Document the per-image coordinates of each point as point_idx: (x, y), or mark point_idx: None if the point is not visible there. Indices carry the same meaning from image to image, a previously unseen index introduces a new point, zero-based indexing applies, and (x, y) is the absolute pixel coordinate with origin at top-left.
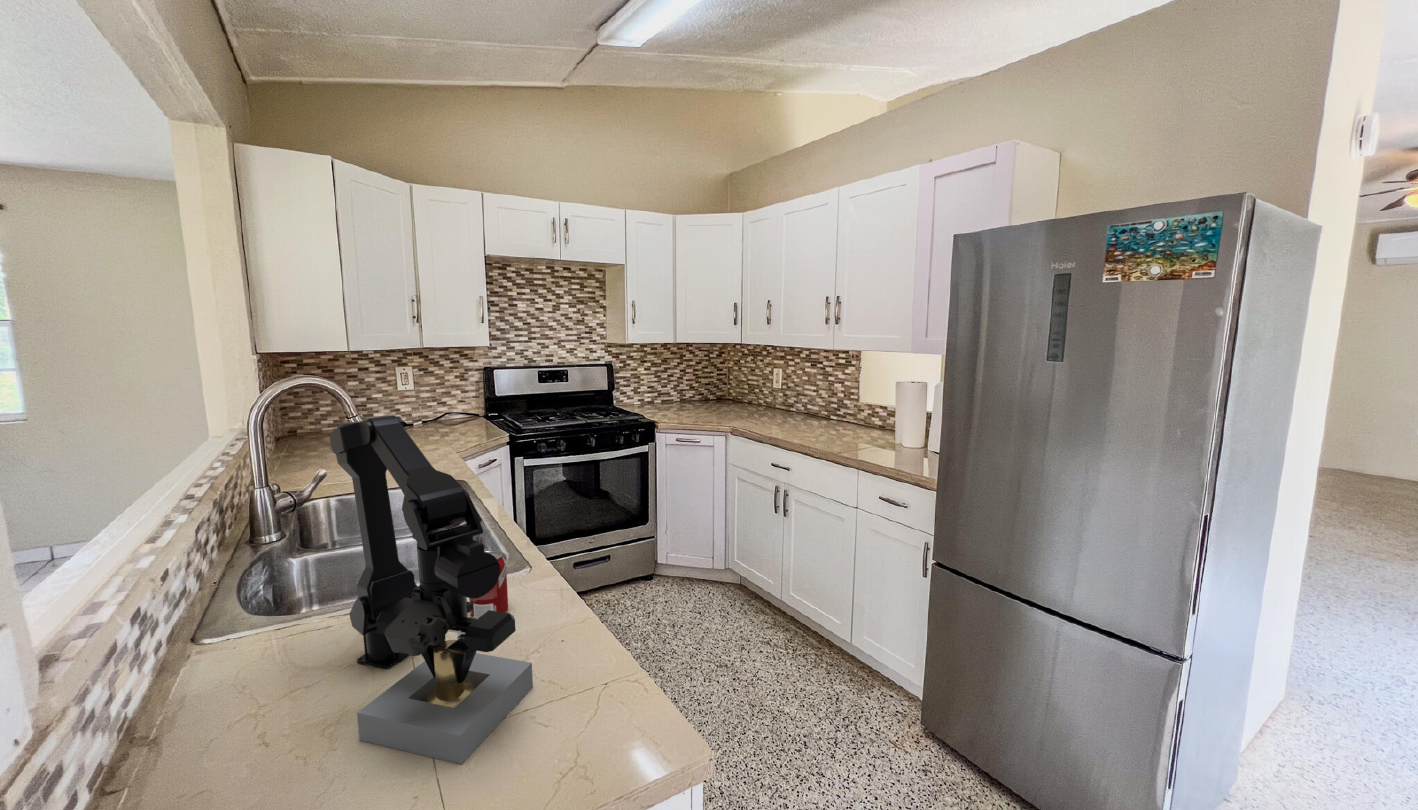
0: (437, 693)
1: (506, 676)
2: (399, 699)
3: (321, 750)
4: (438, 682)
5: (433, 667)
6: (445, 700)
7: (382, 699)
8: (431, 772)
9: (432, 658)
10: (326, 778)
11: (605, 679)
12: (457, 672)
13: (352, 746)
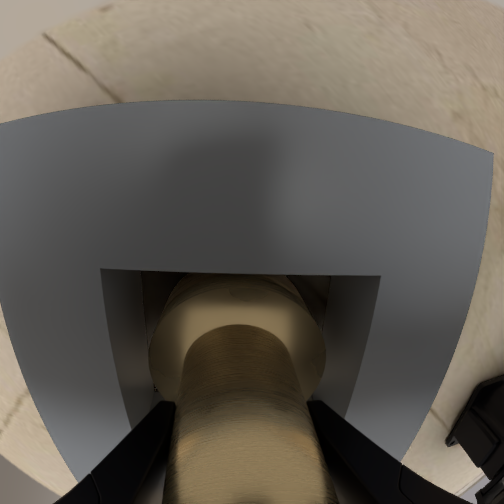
0: (268, 343)
1: (82, 444)
2: (409, 258)
3: (476, 112)
4: (260, 379)
5: (331, 442)
6: (222, 327)
7: (464, 240)
8: (112, 77)
9: (351, 486)
10: (396, 20)
11: (8, 440)
12: (148, 442)
13: (429, 127)
